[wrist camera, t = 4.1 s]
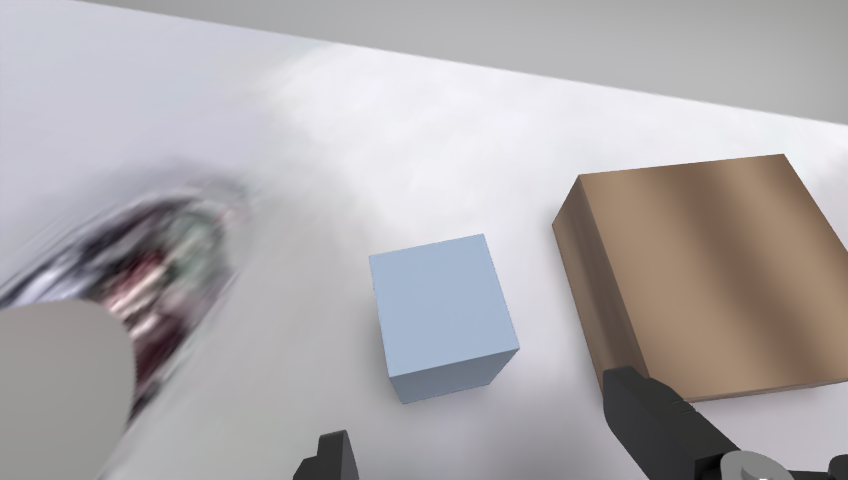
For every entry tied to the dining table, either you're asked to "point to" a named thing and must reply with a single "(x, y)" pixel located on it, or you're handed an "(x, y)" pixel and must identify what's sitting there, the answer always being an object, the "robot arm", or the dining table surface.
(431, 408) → the dining table surface
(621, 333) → the walnut block
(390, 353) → the slate blue pillar block
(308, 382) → the dining table surface
